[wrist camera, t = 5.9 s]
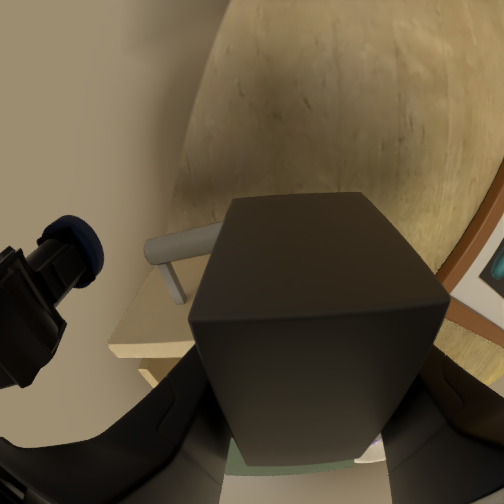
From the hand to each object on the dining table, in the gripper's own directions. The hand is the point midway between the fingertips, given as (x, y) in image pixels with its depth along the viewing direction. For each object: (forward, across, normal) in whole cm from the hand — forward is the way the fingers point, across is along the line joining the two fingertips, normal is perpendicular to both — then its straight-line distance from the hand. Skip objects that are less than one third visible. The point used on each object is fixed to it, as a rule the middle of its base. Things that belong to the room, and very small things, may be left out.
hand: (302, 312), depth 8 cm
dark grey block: (+1, 0, 0) cm, 1 cm away
